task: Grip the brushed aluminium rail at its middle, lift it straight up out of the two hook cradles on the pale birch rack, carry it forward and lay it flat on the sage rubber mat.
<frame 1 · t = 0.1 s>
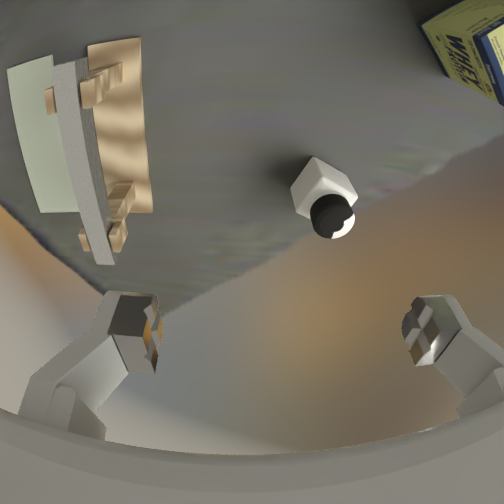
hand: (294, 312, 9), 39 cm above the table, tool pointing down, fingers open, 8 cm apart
aluminium rail: (90, 167, 33), point 12 cm above the table, touching hook rack
hook rack: (121, 132, 42), on the table
protein box: (460, 33, 30), on the table
medicine bottle: (317, 180, 50), on the table
sage mat: (41, 141, 41), on the table
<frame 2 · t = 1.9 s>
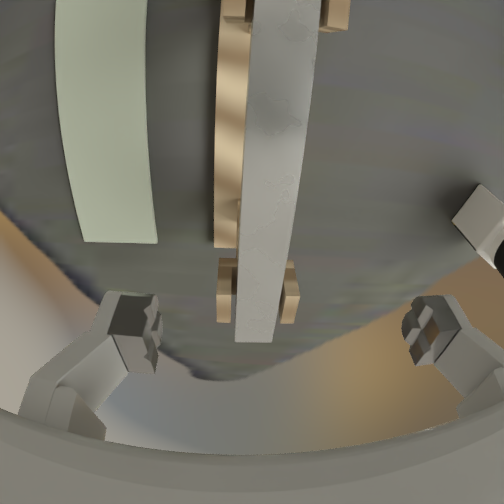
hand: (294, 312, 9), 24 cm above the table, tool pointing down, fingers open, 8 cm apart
aluminium rail: (267, 160, 18), point 12 cm above the table, touching hook rack
hook rack: (257, 118, 28), on the table
medicine bottle: (475, 212, 35), on the table
sage mat: (102, 121, 27), on the table
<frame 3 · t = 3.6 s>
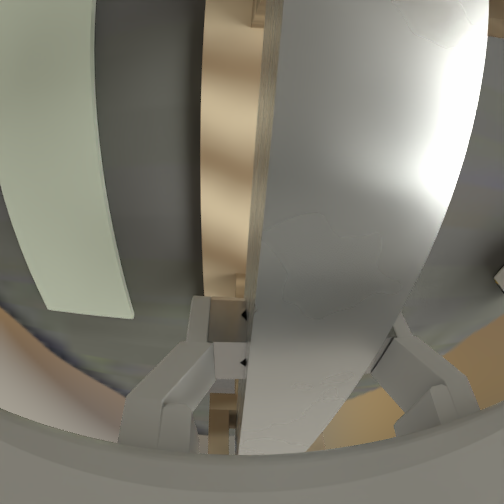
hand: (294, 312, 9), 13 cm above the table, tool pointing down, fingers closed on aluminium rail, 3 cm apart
aluminium rail: (292, 298, 10), point 12 cm above the table, touching gripper, hook rack
hook rack: (265, 161, 19), on the table
sage mat: (45, 166, 18), on the table
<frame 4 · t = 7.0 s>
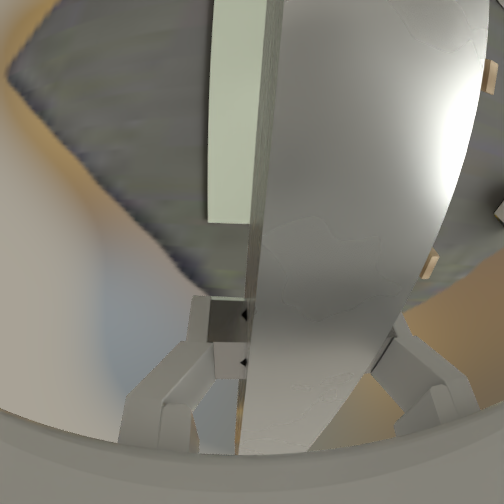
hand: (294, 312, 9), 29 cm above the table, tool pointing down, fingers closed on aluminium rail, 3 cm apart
aluminium rail: (292, 299, 10), point 29 cm above the table, touching gripper
hook rack: (381, 127, 33), on the table
sage mat: (253, 110, 32), on the table
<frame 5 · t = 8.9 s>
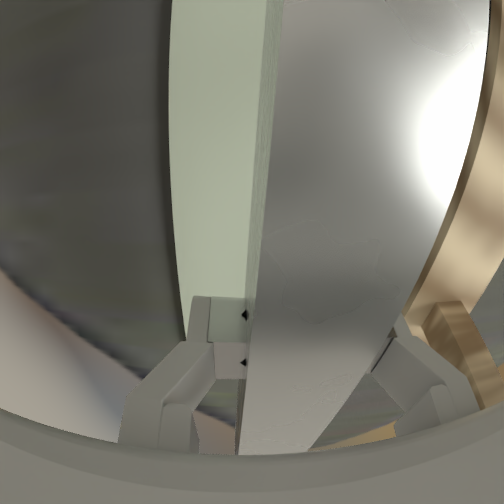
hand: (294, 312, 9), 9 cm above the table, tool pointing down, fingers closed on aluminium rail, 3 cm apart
aluminium rail: (291, 301, 10), point 8 cm above the table, touching gripper
hook rack: (487, 206, 17), on the table
sage mat: (268, 176, 16), on the table
when the fingers open (3 cm above the table, at t = 10.5 s): aluminium rail drops 1 cm, resting on sage mat.
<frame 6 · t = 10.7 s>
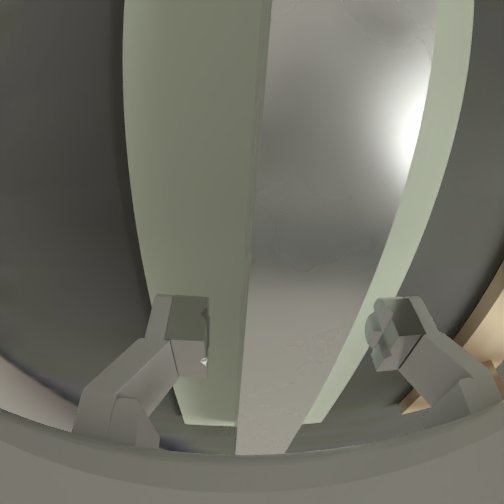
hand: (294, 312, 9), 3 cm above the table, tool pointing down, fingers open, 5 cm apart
aluminium rail: (286, 270, 11), point 1 cm above the table, touching sage mat
sage mat: (283, 257, 11), on the table
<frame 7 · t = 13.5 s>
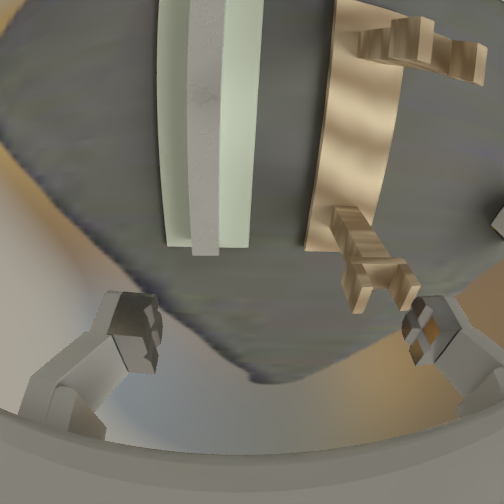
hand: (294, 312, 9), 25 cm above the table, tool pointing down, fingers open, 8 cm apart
aluminium rail: (206, 125, 29), point 1 cm above the table, touching sage mat
hook rack: (356, 133, 30), on the table
sage mat: (206, 123, 29), on the table
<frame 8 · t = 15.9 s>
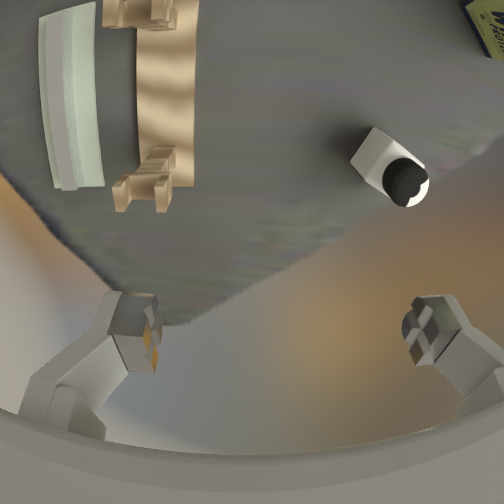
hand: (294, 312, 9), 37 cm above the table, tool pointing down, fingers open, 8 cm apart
aluminium rail: (66, 100, 35), point 1 cm above the table, touching sage mat
hook rack: (166, 87, 37), on the table
protein box: (494, 18, 26), on the table
medicine bottle: (376, 155, 44), on the table
sage mat: (67, 98, 36), on the table
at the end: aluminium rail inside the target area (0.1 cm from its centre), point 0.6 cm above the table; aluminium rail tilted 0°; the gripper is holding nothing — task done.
